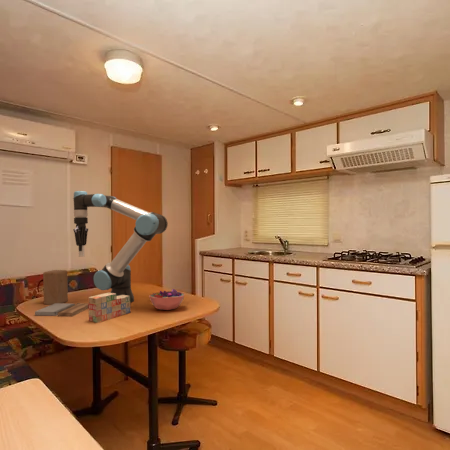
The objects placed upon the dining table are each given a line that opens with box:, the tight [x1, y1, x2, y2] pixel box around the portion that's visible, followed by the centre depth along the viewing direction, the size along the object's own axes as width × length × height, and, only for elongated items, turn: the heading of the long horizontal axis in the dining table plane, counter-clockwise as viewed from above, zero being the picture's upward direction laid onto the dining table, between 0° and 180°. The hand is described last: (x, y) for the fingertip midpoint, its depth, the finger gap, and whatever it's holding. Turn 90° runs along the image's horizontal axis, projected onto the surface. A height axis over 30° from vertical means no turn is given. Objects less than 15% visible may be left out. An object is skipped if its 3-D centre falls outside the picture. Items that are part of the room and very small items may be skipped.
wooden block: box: [42, 269, 69, 306], centre depth 203 cm, size 10×10×20 cm
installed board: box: [57, 302, 89, 318], centre depth 182 cm, size 8×20×2 cm, turn 175°
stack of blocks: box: [87, 292, 131, 324], centre depth 171 cm, size 21×6×12 cm, turn 147°
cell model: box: [148, 288, 186, 311], centre depth 185 cm, size 17×20×11 cm
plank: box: [34, 302, 76, 317], centre depth 183 cm, size 12×18×2 cm, turn 175°
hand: (81, 256), depth 196 cm, fingers closed
